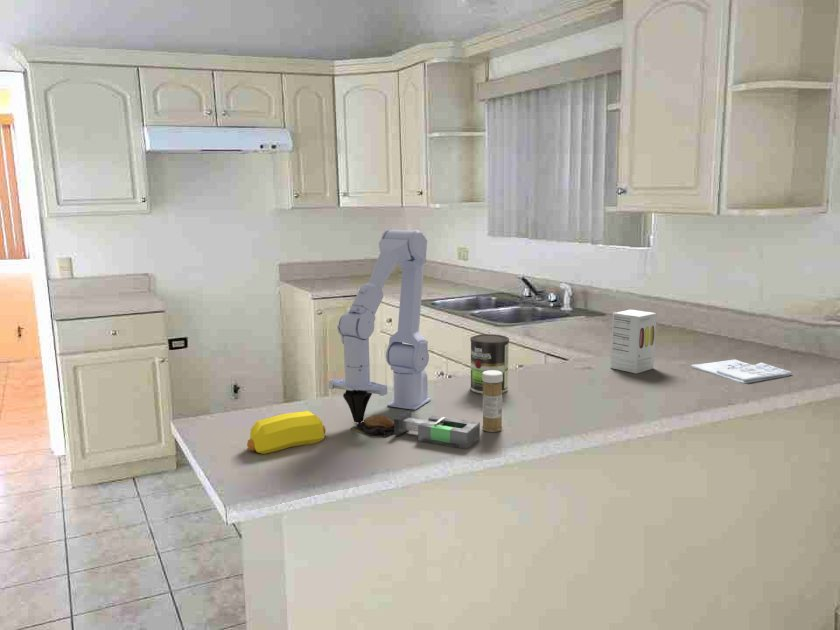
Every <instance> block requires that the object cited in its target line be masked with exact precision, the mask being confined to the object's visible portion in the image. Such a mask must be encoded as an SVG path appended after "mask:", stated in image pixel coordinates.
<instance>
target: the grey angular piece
mask: <svg viewBox="0 0 840 630" xmlns="http://www.w3.org/2000/svg"><path fill="white" fill-rule="evenodd" d="M441 417H442V418H441V419H439V420H438V421H437V422H434V421H428V420H426V419H420V418H413V417H412V411H409V410H407V411H404V412H403V413H401V414H399V415H398V416H396V417H395V418H393V422H394V435H393V436H399V437H400V436H401V435H403V434H404V433H405V432H406V431H410V432H417V433H418V425H419V424H421V423H428V424H434V426H437V425H442V426H444V423H442V421H443V420H445V418H446V417H445V416H441Z"/></svg>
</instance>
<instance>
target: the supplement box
mask: <svg viewBox="0 0 840 630" xmlns="http://www.w3.org/2000/svg"><path fill="white" fill-rule="evenodd" d="M656 323H657V313H656V312H653V311H652V312H651V311H643V310H639V309H638V310H636V309H627V310H621V311H617V312H613V313H612V318H611V341H610V342H611V343H610V344H611V347H610V368H609V369H615V370H618V371H622V372H628V373H632V374H635V375H636V374H640V373H644V372H646V371H649V370H652V369H654V363H655V346H656V345H655V344H656V342H655V341H656V331H657V330H656V328H657V325H656Z"/></svg>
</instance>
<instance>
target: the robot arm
mask: <svg viewBox="0 0 840 630" xmlns="http://www.w3.org/2000/svg"><path fill="white" fill-rule="evenodd" d="M427 245H428V240H427V238H426V236H425V235H424V233H423V232H422V231H421V230H419V229H415V230H408V229H404V230H403V229H392V228H388V229H386V230H384V231H383V233H382V234H381V238H380V240H379V242H378V248H379V252H380V253H379V255H378V257H377V260H376V262H375V264H374V267H373V270H372V272H371V275H370V277H369V280H368V282H367V283H364V284H362V285H361V286H360V288H359V290H358V291H357V294H356V296H355V298H354V300H353V302H352V304H351V306H350V308H349V310H348V311H347V312H345V313H344V314H342V315H341V316H340V318H339V320H338V325H337V326H336V327H337V332H338V334H339V335H340V338H341V343H342V344H343V359H344V361H343V362H344V363H343V364H344V378H340V379H339V378H332V379H329V380H328V389H330V390H332V389H337V390H343V391H344V390H345V392H344V393H343V394H342V397H343V398H344V400H345V401H346V404H347V406H348V408H349V409H350V412H351V415H352V420H353V423H357V424H358V423H359V422H364V419H365V413H366V409H367V406H368V403H369V402H370V399H371V397H372V395H374V394H375V395H379V396H381V397H382V396H386V395H387V394H388V385H387V384H386V385H385V384H380V383H377V382H374V381H371V376H370V375H371V373H370V371H371V370H370V342H369V341H370V337H371V336H372V334H373V333H374V330H375V321H376V313H377V312H378V310H379V307H380V305H381V303H382V301H383V299H384V292H383V287H384V286H385V284H386V282H387V281H388V279H389V278H390V275H391V274H392V272H393V271H394V269H395V267H396V265H397V264H398V265H399V267H401V269H402V270H401V282H400V283H401V284H400V295H399V310H398V323H397V324H398V325H397V331H396V332H395V333H394V334H393V335H391V336H390V337H389V338H388V339H389V341H388V346H387V348H386V350H385V351H386V352H385V360H386V363H387V365H388V366H390V370H391V371H393V372H392V375H393V377H392V378H393V379H392V381H393V400H392V401H390V402H389V403H387V404H386V405H387V407H392V408H400V409H406V410H414V411H416V410H417V409H419V408H420V407H422V406H423V405H425V404H427V403H428V402H429V401H431V400H432V398H431V397H428V394H429V393H428V391H429V388H428V385H429V384H428V381H429V380H428V374H427V372H426V370H425V369H426V367H427V366H428V364H429V360H430V353H429V349H428V343H429V342H428V340H427V339H426V338H425V337H424V336H423V335H422V334H421V333H420V324H421V311H422V296H423V283H424V271H425V270H424V269H425V264H426V262H427V260H426V259H427V250H428V249H427V248H428V246H427Z"/></svg>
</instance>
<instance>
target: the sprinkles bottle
mask: <svg viewBox="0 0 840 630" xmlns="http://www.w3.org/2000/svg"><path fill="white" fill-rule="evenodd" d="M482 380H483V394H482V426H481V427H482V430H483V431H485V432H488V433H489V432H490V433H496V432H497V433H498V432H500V431H502V429H503V425H502V424H503V423H502V422H503V421H502V417H503V393H502V381H503V373H502V372H500V371H496V370H488V371H484V372H483V373H482Z"/></svg>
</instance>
